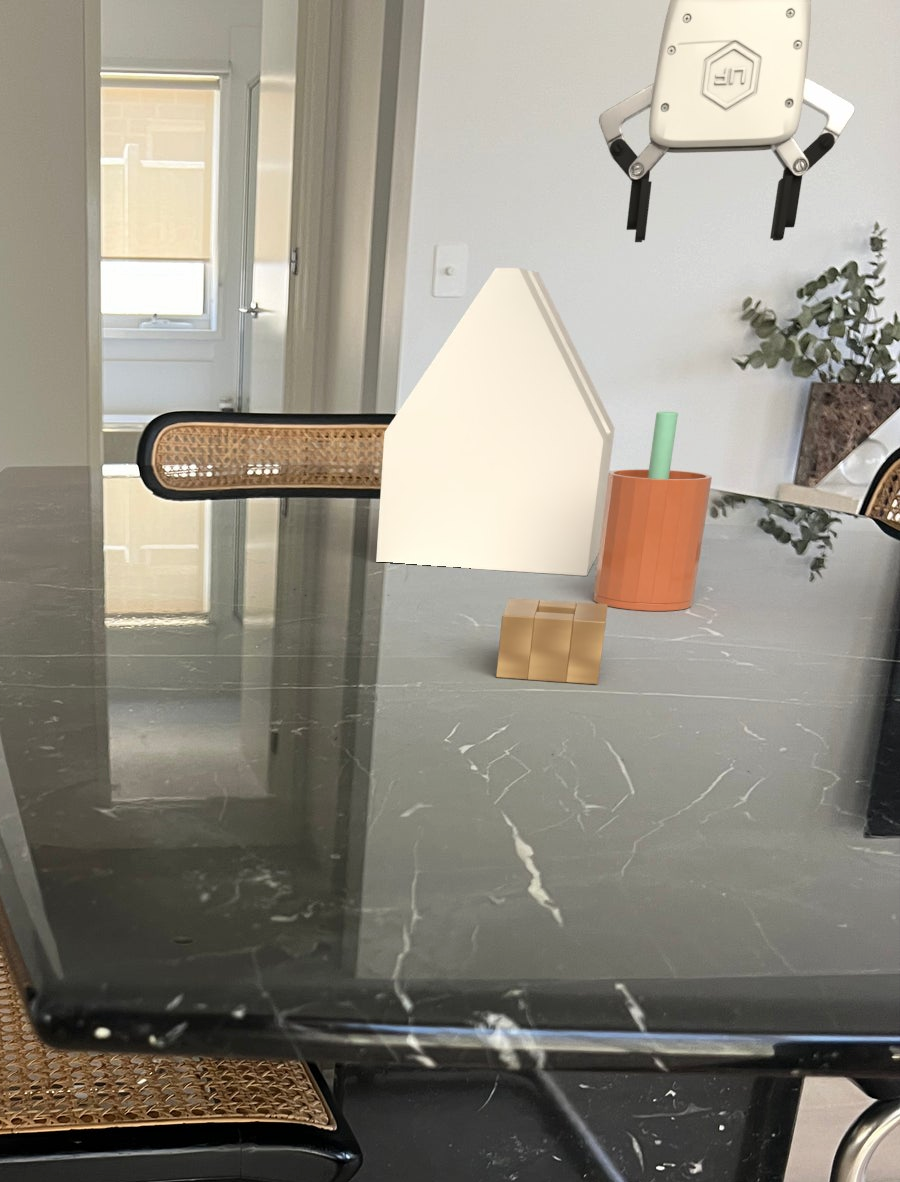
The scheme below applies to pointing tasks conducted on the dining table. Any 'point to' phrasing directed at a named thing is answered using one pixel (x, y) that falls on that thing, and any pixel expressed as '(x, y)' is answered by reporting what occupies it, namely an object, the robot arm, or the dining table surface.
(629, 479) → the cup
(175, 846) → the dining table surface
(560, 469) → the white house shaped block
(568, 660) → the straw holder
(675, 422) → the straw
